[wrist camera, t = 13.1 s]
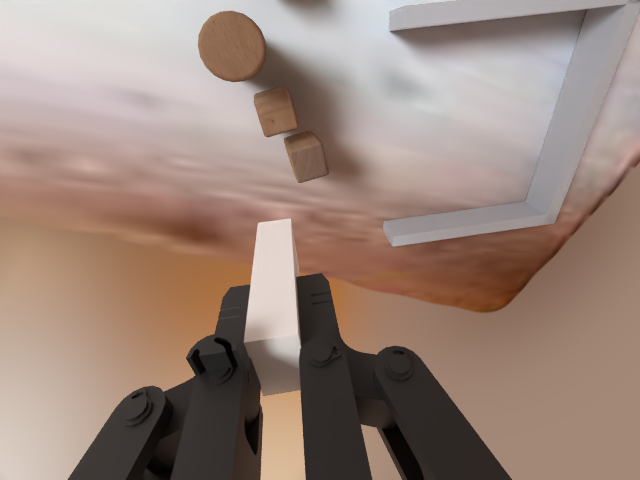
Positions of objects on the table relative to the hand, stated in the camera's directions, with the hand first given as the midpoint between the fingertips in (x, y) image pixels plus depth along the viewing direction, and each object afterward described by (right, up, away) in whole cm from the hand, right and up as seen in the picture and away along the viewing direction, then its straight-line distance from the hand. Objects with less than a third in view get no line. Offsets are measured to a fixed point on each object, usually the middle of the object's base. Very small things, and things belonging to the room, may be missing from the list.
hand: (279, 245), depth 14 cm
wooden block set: (-3, +17, +15) cm, 23 cm away
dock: (+19, +13, +20) cm, 31 cm away
